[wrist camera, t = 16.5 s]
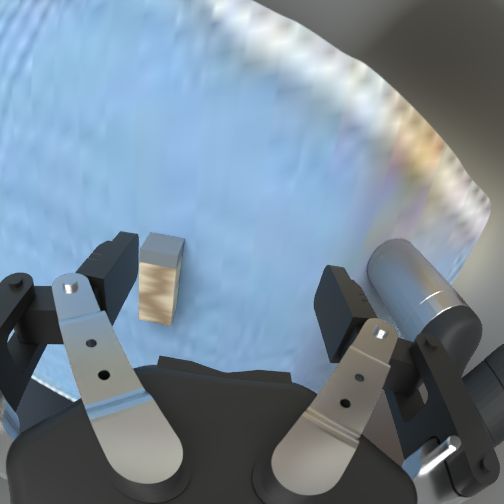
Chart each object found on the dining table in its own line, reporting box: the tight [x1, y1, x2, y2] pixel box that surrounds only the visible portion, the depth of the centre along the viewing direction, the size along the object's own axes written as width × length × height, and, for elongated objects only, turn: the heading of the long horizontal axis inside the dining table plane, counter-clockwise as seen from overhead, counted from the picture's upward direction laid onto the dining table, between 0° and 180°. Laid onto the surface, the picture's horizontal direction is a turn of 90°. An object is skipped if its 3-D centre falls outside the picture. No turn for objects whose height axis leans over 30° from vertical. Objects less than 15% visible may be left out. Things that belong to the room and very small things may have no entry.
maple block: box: [139, 233, 184, 326], centre depth 42 cm, size 5×5×12 cm
